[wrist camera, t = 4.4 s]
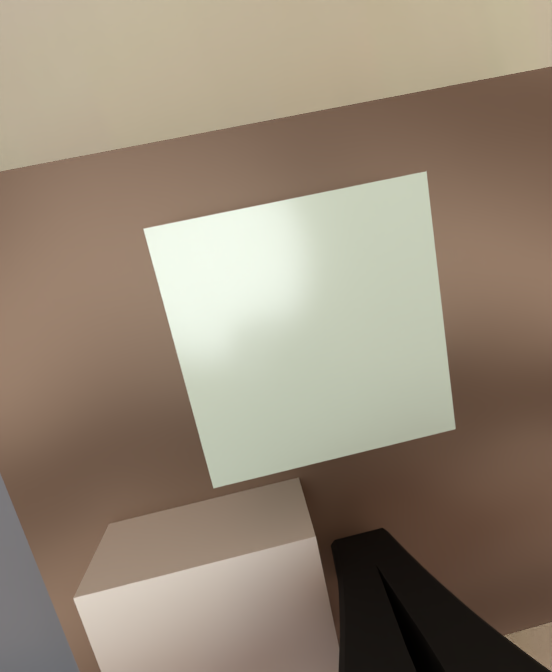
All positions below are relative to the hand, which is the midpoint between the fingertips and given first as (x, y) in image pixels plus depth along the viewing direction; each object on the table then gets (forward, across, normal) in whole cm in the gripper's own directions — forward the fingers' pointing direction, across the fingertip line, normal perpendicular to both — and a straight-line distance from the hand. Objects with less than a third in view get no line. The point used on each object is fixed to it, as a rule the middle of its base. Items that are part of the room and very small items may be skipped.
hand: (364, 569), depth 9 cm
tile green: (+1, 0, -6) cm, 6 cm away
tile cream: (+1, +3, 0) cm, 3 cm away
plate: (+3, 0, -3) cm, 4 cm away
